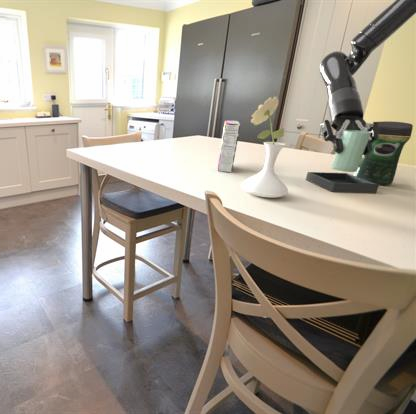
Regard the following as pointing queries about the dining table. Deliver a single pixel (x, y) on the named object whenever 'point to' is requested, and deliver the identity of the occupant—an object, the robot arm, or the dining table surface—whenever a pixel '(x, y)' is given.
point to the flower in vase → (267, 157)
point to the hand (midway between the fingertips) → (353, 152)
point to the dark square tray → (341, 182)
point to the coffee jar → (384, 153)
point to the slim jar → (351, 150)
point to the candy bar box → (228, 146)
